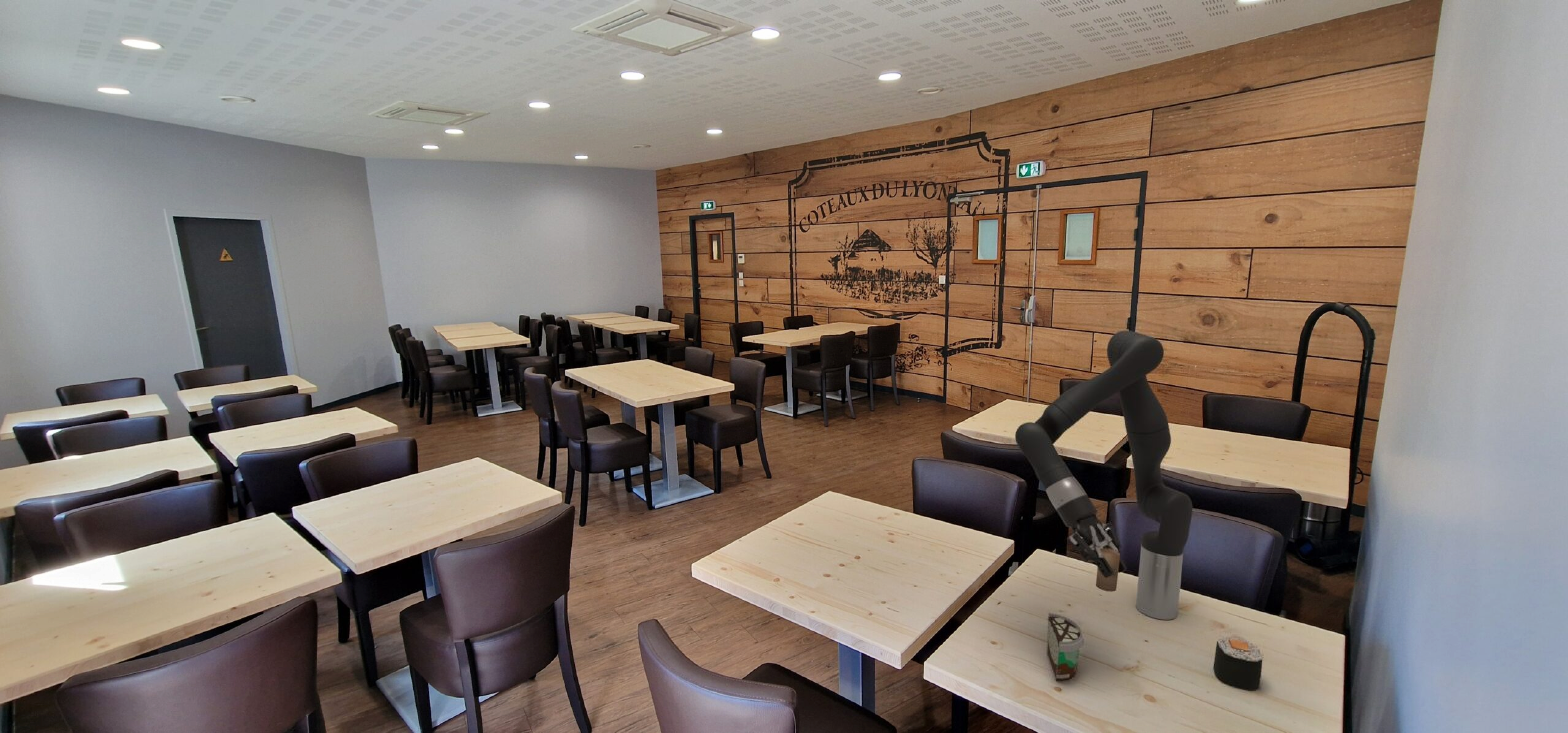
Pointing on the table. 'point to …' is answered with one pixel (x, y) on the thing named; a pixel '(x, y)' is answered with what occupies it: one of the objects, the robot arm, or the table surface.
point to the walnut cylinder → (1113, 561)
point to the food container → (1063, 646)
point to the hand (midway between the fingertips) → (1116, 573)
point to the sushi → (1238, 663)
